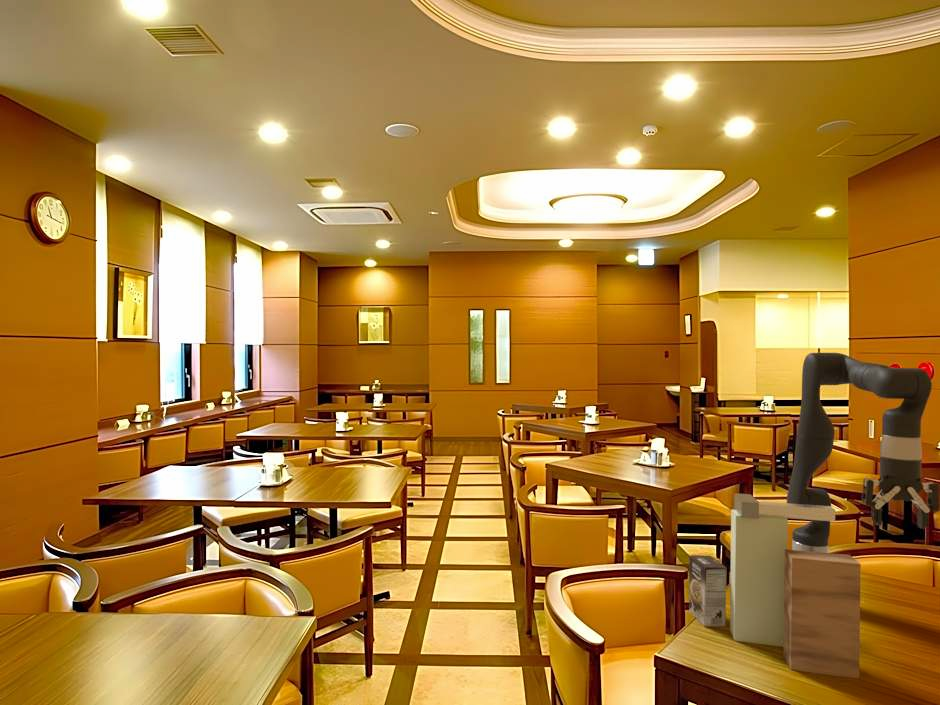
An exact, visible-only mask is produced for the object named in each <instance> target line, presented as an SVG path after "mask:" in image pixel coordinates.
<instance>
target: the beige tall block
mask: <svg viewBox="0 0 940 705" xmlns="http://www.w3.org/2000/svg"><path fill="white" fill-rule="evenodd" d="M730 512H731V513H730V583H729V584H730V586H729V588H730V590H729V592H730V594H729V595H730V596H729V598H730V599H729V631H730V634H731V635H732V639H733V641H735V642H741V643H742V642H743V643H744V642H745V643H749V644H750V643H751V644H759V645H765V646H766V645H767V646H773V647H774V646H775V647H781V648H782V647H783V644H784V557H785V549H787V550H789V549H788V545H789V543H788V541H789V540H788V538H789V537H788V536H789V535H788V534H789V527H788V526H789V520H788V519H789V518H781V517H768V516H759V519H754V518H741V516H740V515H739V514H738V512H737V511H736V510H735V509H734V508H733V509H731V511H730Z"/></svg>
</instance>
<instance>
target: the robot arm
mask: <svg viewBox="0 0 940 705" xmlns="http://www.w3.org/2000/svg"><path fill="white" fill-rule="evenodd" d="M801 372H802V375H801V400H800V403H801V404H800V413H799V418H798V419H799V420H798V425H797V433H796V437H795V438H796V439H795V441H796V442H795V449H794V450H795V452H794V460H793V468H792V471H791V476H790V481H789V484H788V489H787V494H786V495H787V496H786V503H790V504H804V505H819V506H831V507H832V501H831V497H830V494H829V492H828V491H827V490H826V489H824V488H816V487H808V485H809V482H810V480H811V478H812V477H813V475H814V474H815V473H816V472H817V470H819V468H821V466H822V465H823V464H824V463H826V461H827V460H828V458H830V456H831V454H832V453H833V452H832V451H833V447H834V442H835V441H834V439H835V432H836V430H835V427H834V425H833V422H832V420H831V419H830V417H829V415H828V413H826V411H825V409H824V407H823V405H822V403H821V402H822V401H821V395H820V393H821V392H820V391H821V386H841V385H848V384H850V385H852V386H854V387H855V388H857V389H859V390H862V391H865V392H866V391H867V392H871V393H873V394H874V395H876V396H877V397H880V398H883V399H894V400H900V399H901V400H902V403H901V404H900V406H898V407H895V408H894V407H893V408H889V409H886V410H884V411H883V413H882V420H881V421H882V422H881V426H882V427H881V440H880V448H879V450H880V453H879V478H878V479H870V478H868V477H864V478H863V484H862V493H861V502H862V503H863V504H865V506H868V507H870V508H871V514H870V515H871V516H870V518H871V521H872V522H873V523H874V524H875V526H882V524H883V523H882V520H883V519H882V516H883V514H882V513H883V511H882V510H883V509H881V508H882V507H883V506H884V505H885V504H887V503H888V502H890V500H893V501H905V502H910V501H911V502H912V503H913V504H914V505H915V506H916V507H917V513H916V515H917V517H916V525H917V526H916V527H917V528H919V529H923V530H926V527H929V515H930V512H933V511H936V512H937V511H939V510H940V498H939V497H940V495H939V485H938V484H937V483H935V482H932V481H927V482H922V458H923V450H922V449H923V448H922V440H921V439H922V438H921V435H922V434H921V425H922V418H923V415H924V412H925V409H926V405H927V403H928V400H929V398H930V395H931V392H932V387H933V384H932V378H931V376H930V375H929V373H928V372H927V371H926V370H924V369H922V368H917V367H916V368H915V367H913V368H912V367H890V366H888V365H884V364H879V363H872V362H865V361H860V360H858V359H855V358H853V357H851V356H849V355H847V354H844V353H839V352H810V353H808V354H807V355H806V356H805V358H804V360H803V364H802V370H801ZM877 486H878V487H879V488H880V490H879V492H878V493H877V494H876V496H875V498H874V499H873V495H874V490H875V489H876V488H877ZM922 490H924V492H926V503H925V501H924V500H923V498H922V497H921V496H920V495H919V493H920V492H921V491H922ZM830 533H831V521H821V520H810V521H809V522H808V523H806V524H805V525H803V526H799V527H797V528H795V529H793V530H792V544H791V546H792V549H791V550H798V551H809V552H821V553H829V540H830Z"/></svg>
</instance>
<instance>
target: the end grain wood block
mask: <svg viewBox="0 0 940 705" xmlns="http://www.w3.org/2000/svg"><path fill="white" fill-rule="evenodd" d="M733 495H734V496H733V499H734V502H733V510H736V511H737V512H738V514H739V515H740V516H741V518H754V519H759V516H768V517H781V518H787V519H795V520H796V519H797V520H807V521H808V520H810V521H811V520H821V521H830V522H836V509H835V508H834V507H833V506H832V505H831V506H819V505H804V504H790V503H787V502H774V501H773V502H772V501H760V500H759V501H758V500H757V499H756V498H755V497H754V496H753V495H752V494H749V493H735V492H734V494H733Z"/></svg>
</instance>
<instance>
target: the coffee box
mask: <svg viewBox="0 0 940 705" xmlns="http://www.w3.org/2000/svg"><path fill="white" fill-rule="evenodd" d="M727 571H728V570H727V566H725V565H724V564H723V563H721V562H720V561H719V560H716V558H714V557H713V556H711V555H701V554H699V555H698V554H697V555H695V554H694V555H689V572H688V573H689V574H688V575H689V579H688V580H689V585H688V587H689V589H688V590H689V592H688V594H689V596H688V600H689V601H688V604H689V605H688V609H689V610H688V612H689V614H691V615H692V616H693V618H695V619H697V621H698V622H699V623H700V624H701V625H702V626H703V627H726V616H727V615H726V612H727V609H726V608H727V606H726V605H727Z"/></svg>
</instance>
